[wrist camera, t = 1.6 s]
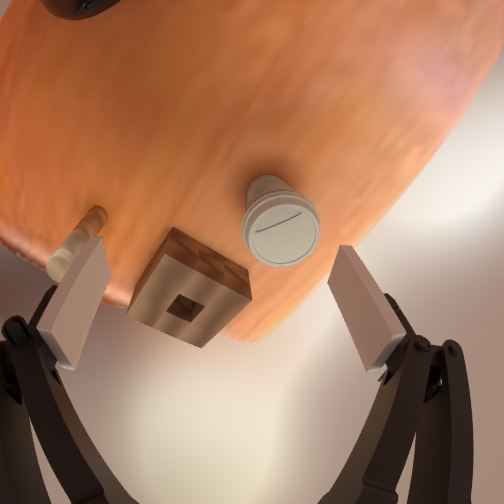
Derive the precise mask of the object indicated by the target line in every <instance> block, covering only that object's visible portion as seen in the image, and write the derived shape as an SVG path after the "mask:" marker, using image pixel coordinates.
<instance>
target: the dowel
mask: <svg viewBox="0 0 504 504" xmlns="http://www.w3.org/2000/svg"><path fill="white" fill-rule="evenodd" d="M107 218H108V216H107V213H106V211H105V210H104V209H103V208H102V207H100V206H95V207H93V208H92V209H91V210H90V211H89V212H88V213H87V214H86V215H85V217H84V218H83V219H82V220H81V221H80V222H79V223H78V225H77V226H76V227H75V228H74V229H73V231H72V232H71V233H70V234H69V236H68V237H67V238H66V239H65V241H64V242H63V243H62V244H61V246H60V247H59V248H58V250H57V251H56V252H55V254H54V255H53V256H52V258H51V259H50V260H49V262H48V263H47V265H46V269H47V272H48V274H49V276H50V277H51V278H52V279H53V280H54V281H56V282H58V283H60V282H61V281H62V279H63V277H64V276H65V274H66V272H67V271H68V269H69V268H70V266H71V264H72V263H73V261H74V260H75V258H76V257H77V255H78V254H79V252H80V251H81V249H82V248H83V246H84V245H85V243H86V242H87V240H88V239H89V238H90V236H96V235H97V234H98V233H99V231H100V230H101V228H102V227H103V226H104V224H105V223H106V221H107Z"/></svg>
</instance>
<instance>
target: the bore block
mask: <svg viewBox="0 0 504 504" xmlns="http://www.w3.org/2000/svg"><path fill="white" fill-rule="evenodd" d="M251 301H252V295H251V288H250V281H249V274H248V270H246V269H245V268H243V267H241V266H239V265H238V264H236V263H234V262H232V261H231V260H229V259H227V258H225V257H224V256H222V255H220V254H218V253H217V252H215V251H213V250H212V249H210V248H208V247H206V246H205V245H203V244H201V243H200V242H198V241H196V240H194V239H193V238H191V237H189V236H188V235H186V234H184V233H182V232H181V231H179V230H177V229H176V228H174V227H173V228H172V229H171V231H170V232H169V234H168V235H167V237H166V238H165V240H164V241H163V243H162V244H161V246H160V247H159V249H158V250H157V252H156V254H155V255H154V257H153V258H152V260H151V262H150V263H149V265H148V266H147V268H146V270H145V271H144V273H143V274H142V276H141V278H140V279H139V281H138V283H137V284H136V286H135V289H134V292H133V295H132V298H131V301H130V304H129V308H128V311H127V314H126V315H127V316H129V317H131V318H133V319H135V320H137V321H140V322H142V323H144V324H146V325H148V326H150V327H153V328H155V329H157V330H160V331H161V332H164V333H166V334H168V335H170V336H173V337H175V338H177V339H180V340H182V341H185V342H187V343H190V344H192V345H194V346H197V347H200V348H202V347H203V346H204V345H205V344H206V343H207V342H209V341H210V340H211V339H212V338H213V337H214V336H215V335H216V334H217V333H218V332H219V331H220V330H222V329H223V328H224V327H225V326H226V325H227V324H228V323H229V322H230V321H231V320H232V319H233V318H234V317H235V316H236V315H237V314H238V313H240V312H241V311H242V310H243V309H244V308H245V307H246V306H247V305H248V304H249V303H250V302H251Z"/></svg>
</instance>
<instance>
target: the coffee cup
mask: <svg viewBox="0 0 504 504" xmlns="http://www.w3.org/2000/svg"><path fill="white" fill-rule="evenodd" d="M241 233H242V238H243V241H244V243H245V245H246V247H247V249H248V250H249V251H250V253H251V254H252V255H253V256H255V257H256V258H257V259H258V260H259V261H261V262H262V263H264V264H266V265H269V266H273V267H287V266H291V265H294V264H297V263H299V262H301V261H303V260H304V259H305V258H307V257H308V256H309V255H310V254H311V253H312V252H313V250H314V249H315V247H316V245H317V243H318V241H319V237H320V219H319V215H318V212H317V210H316V208H315V206H314V205H313V204H312V202H311V201H310V200H308V199H307V198H306V197H304V196H302V195H300V194H298V193H297V192H296V191H295V190H294V189H293V188H291V187H290V186H289V185H288V184H287V183H286V182H285V181H283V180H282V179H281V178H279V177H278V176H275V175H270V174H267V175H262V176H259V177H257V178H256V179H254V180H253V181H252V182H251V183H250V185H249V187H248V190H247V197H246V210H245V216H244V218H243V221H242V227H241Z"/></svg>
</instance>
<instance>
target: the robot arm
mask: <svg viewBox="0 0 504 504" xmlns="http://www.w3.org/2000/svg"><path fill="white" fill-rule="evenodd" d="M41 1H42V3H43V4H44V5H45V7H46V8H47V9H48V11H49V12H50V13H52V14H53V15H55V16H57V17H60V18H64V19H68V20H78V19H84V18H87V17H91V16H93V15H96V14H98V13H100V12H102V11H104V10H106V9H107V8H109V7H111V6H112V5H114V4H115V3H117V2H118V1H119V0H41ZM110 278H111V273H110V269H109V265H108V261H107V256H106V252H105V247H104V242H103V237H102V236H90V238H89V239H88V240H87V242H86V243H85V245H84V246H83V248H82V249H81V251H80V252H79V254H78V255H77V257H76V258H75V260H74V261H73V263H72V264H71V266H70V268H69V269H68V271H67V272H66V274H65V276H64V277H63V279H62V281H61V282H60V284H59V286H56V285H53V286H52V287H51V288H50V289H49V290H48V291H47V292H46V293H45V295H44V297H43V299H42V301H41V302H40V304H39V305H38V307H37V309H36V311H35V313H34V315H33V316H32V318H31V320H30V322H29V324H28V325H27V323H26V322H25V320H24V318H23V317H21V316H13V317H10V318H9V319H8V320H7V321H6V322H5V323H4V325H3V327H2V334H3V336H4V338H5V339H6V340H5V341H0V504H51V501H50V499H49V496H48V493H47V490H46V487H45V484H44V481H43V478H42V474H41V471H40V467H39V464H38V460H37V456H36V451H35V447H34V442H33V437H32V432H31V426H30V420H31V422H32V425H33V428H34V430H35V432H36V435H37V438H38V440H39V442H40V444H41V447H42V449H43V451H44V453H45V455H46V458H47V460H48V461H49V464H50V466H51V468H52V469H53V471H54V473H55V475H56V477H57V479H58V481H59V482H60V484H61V486H62V487H63V489H64V491H65V492H66V494H67V496H68V497H69V499H70V501H71V504H139V503H138V502H137V501H136V500H134V499H133V498H132V497H131V496H130V495H129V494H128V493H127V492H126V490H125V489H124V488H123V486H122V485H121V484H120V483H119V481H118V480H117V478H116V477H115V476H114V474H113V473H112V472H111V470H110V469H109V467H108V466H107V464H106V463H105V462H104V460H103V459H102V457H101V455H100V454H99V452H98V451H97V449H96V447H95V446H94V444H93V442H92V441H91V439H90V437H89V435H88V434H87V432H86V430H85V428H84V427H83V425H82V423H81V421H80V419H79V417H78V415H77V413H76V411H75V410H74V407H73V405H72V403H71V401H70V399H69V397H68V395H67V393H66V390H65V388H64V386H63V383H62V381H61V378H60V376H59V373H58V371H57V369H56V368H55V364H56V361H58V362H59V364H60V365H61V367H63V368H67V369H71V370H76V367H77V364H78V361H79V358H80V355H81V352H82V349H83V346H84V343H85V340H86V337H87V335H88V332H89V329H90V327H91V324H92V321H93V319H94V316H95V313H96V311H97V309H98V306H99V304H100V301H101V299H102V296H103V294H104V292H105V289H106V287H107V285H108V283H109V280H110ZM327 283H328V285H329V287H330V289H331V292H332V294H333V296H334V298H335V300H336V302H337V304H338V307H339V309H340V311H341V313H342V316H343V318H344V320H345V322H346V325H347V327H348V329H349V332H350V334H351V336H352V338H353V341H354V343H355V345H356V348H357V350H358V353H359V355H360V357H361V360H362V362H363V365H364V367H365V370H366V372H372V371H377V370H380V369H381V367H382V366H383V365H384V364H385V363H386V365H387V370H386V371H385V372H384V373H383V374H382V376H381V377H380V378H379V380H378V381H381V379H382V378H383V379H382V382H381V385H380V387H379V390H378V393H377V395H376V398H375V401H374V403H373V406H372V408H371V411H370V413H369V416H368V418H367V420H366V423H365V425H364V427H363V429H362V431H361V434H360V436H359V438H358V440H357V442H356V444H355V446H354V448H353V451H352V452H351V454H350V456H349V458H348V460H347V462H346V464H345V466H344V467H343V469H342V471H341V473H340V475H339V476H338V478H337V480H336V481H335V483H334V485H333V486H332V488H331V490H330V491H329V492H328V493H327V494H325V495H324V496H323V498H321V500H320V501H319V502H318V504H397V502H398V494H397V493H396V492H395V489H396V486H397V483H398V481H399V479H400V476H401V473H402V471H403V468H404V466H405V463H406V460H407V457H408V455H409V451H410V449H411V445H412V442H413V439H414V436H415V432H416V441H415V453H414V462H413V470H412V477H411V483H410V489H409V494H408V500H407V504H471V489H472V478H473V423H472V409H471V399H470V391H469V384H468V377H467V372H466V366H465V360H464V355H463V351H462V348H461V347H460V345H459V344H458V343H457V342H455V341H453V340H446V341H445V342H444V343H443V345H442V346H436V345H431V344H430V342H429V341H428V340H427V339H426V338H425V337H423V336H421V335H416V334H415V332H414V331H413V329H412V327H411V325H410V324H409V322H408V320H407V319H406V317H405V316H404V315H403V312H402V311H401V309H399V306H398V304H397V303H396V301H395V300H394V299H393V298H392V297H391V296H390V295H389V294H388V293H385V294H383V293H382V291H381V289H380V288H379V286H378V285H377V283H376V282H375V280H374V278H373V277H372V275H371V274H370V272H369V271H368V269H367V268H366V266H365V265H364V263H363V262H362V260H361V259H360V257H359V256H358V255H357V253H356V252H355V250H354V249H353V247H352V246H348V245H340V246H339V249H338V252H337V256H336V259H335V262H334V265H333V268H332V271H331V274H330V277H329V279H328V282H327ZM441 379H442V385H441V382H440V380H441ZM29 417H30V420H29Z"/></svg>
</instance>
